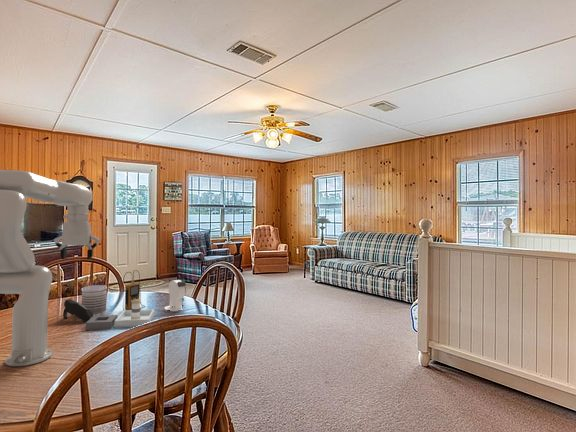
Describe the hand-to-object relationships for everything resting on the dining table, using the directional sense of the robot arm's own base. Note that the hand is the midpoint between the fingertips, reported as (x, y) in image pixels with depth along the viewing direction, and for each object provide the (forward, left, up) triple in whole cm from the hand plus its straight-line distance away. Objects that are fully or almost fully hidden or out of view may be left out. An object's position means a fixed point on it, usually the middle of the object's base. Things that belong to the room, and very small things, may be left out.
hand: (76, 258), depth 142 cm
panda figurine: (+29, -38, -31) cm, 57 cm away
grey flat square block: (+5, -9, -30) cm, 32 cm away
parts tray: (+9, -22, -30) cm, 39 cm away
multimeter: (+29, -19, -31) cm, 46 cm away
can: (+30, +2, -31) cm, 43 cm away
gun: (+15, +4, -31) cm, 34 cm away
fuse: (+9, -22, -30) cm, 38 cm away
